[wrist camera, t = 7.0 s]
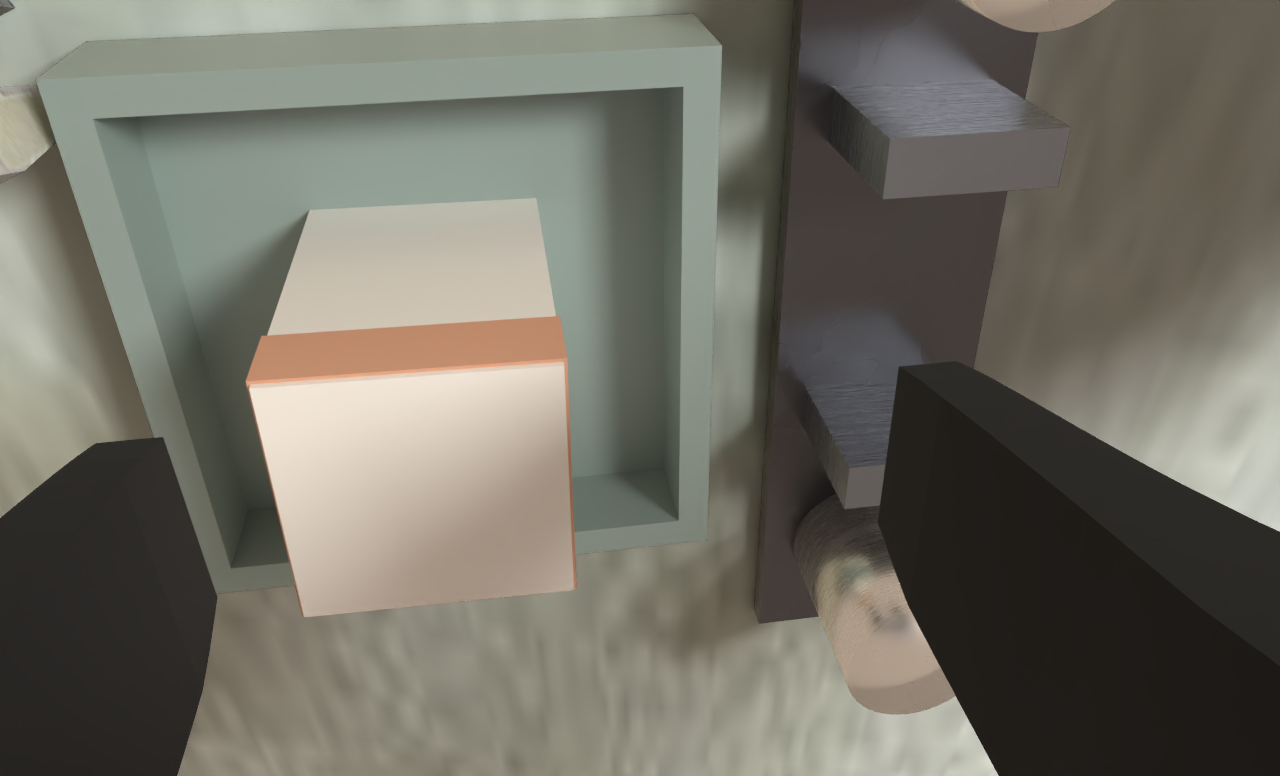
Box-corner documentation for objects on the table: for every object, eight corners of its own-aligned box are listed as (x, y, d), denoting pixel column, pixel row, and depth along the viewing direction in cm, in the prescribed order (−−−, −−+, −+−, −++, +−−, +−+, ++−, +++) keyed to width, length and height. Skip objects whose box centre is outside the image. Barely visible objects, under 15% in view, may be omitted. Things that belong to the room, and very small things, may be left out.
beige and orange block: (538, 195, 18) (567, 361, 13) (549, 386, 20) (577, 592, 15) (306, 207, 18) (244, 385, 13) (341, 402, 20) (301, 620, 15)
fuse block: (1085, -304, 16) (1282, -323, 12) (920, 589, 26) (998, 731, 22) (814, -302, 15) (930, -322, 11) (754, 609, 25) (804, 757, 22)
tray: (693, 13, 17) (722, 45, 15) (686, 473, 23) (707, 540, 21) (86, 41, 16) (35, 79, 14) (229, 519, 22) (206, 595, 20)
